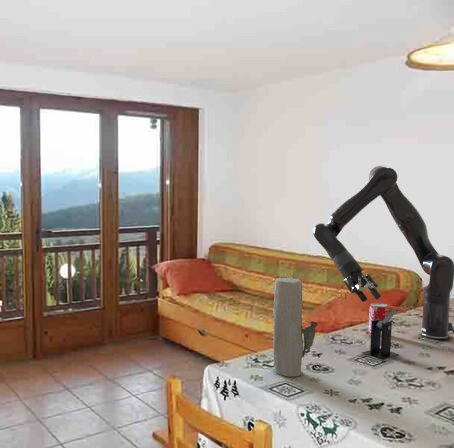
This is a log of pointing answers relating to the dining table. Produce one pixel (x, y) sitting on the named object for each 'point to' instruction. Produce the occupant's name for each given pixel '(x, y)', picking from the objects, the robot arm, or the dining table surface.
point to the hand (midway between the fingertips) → (372, 299)
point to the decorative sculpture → (289, 327)
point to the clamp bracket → (385, 341)
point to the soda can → (377, 313)
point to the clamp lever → (389, 315)
